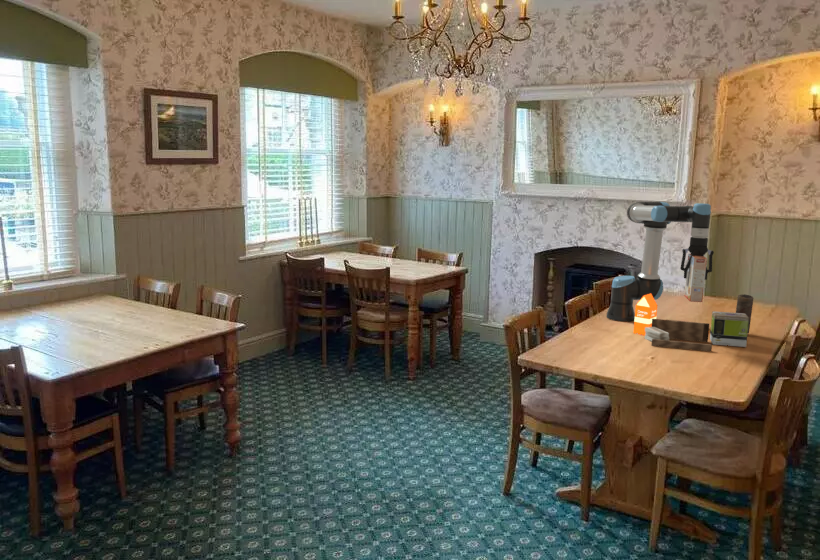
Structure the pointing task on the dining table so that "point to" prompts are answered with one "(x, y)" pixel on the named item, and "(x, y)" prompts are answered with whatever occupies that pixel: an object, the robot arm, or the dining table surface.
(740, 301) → the candle
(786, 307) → the dining table surface
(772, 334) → the dining table surface
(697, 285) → the cracker box
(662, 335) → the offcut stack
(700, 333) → the walnut rack
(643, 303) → the orange juice
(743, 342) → the tea box
